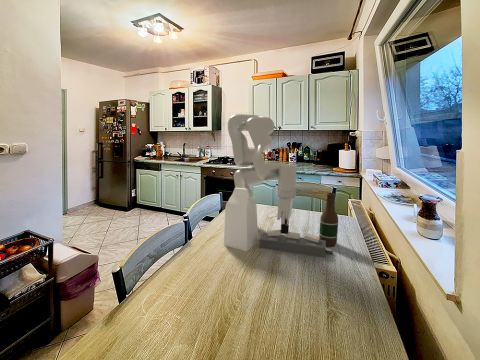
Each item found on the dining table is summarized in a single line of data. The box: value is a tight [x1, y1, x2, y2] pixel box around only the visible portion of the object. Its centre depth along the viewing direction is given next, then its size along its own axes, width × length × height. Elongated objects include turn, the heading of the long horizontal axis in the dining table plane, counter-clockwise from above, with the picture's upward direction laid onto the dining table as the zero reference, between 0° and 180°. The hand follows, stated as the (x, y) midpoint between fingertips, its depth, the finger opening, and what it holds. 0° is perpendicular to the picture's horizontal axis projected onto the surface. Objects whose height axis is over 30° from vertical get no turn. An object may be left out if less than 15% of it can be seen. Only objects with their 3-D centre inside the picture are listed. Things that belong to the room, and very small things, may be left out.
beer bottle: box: [318, 192, 339, 248], centre depth 114 cm, size 8×8×24 cm
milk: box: [223, 187, 259, 252], centre depth 115 cm, size 12×12×26 cm
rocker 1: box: [266, 229, 283, 236], centre depth 114 cm, size 6×3×2 cm, turn 70°
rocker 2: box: [303, 232, 319, 243], centre depth 109 cm, size 6×3×2 cm, turn 72°
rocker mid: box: [284, 231, 301, 239], centre depth 112 cm, size 6×3×2 cm, turn 71°
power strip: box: [258, 232, 334, 258], centre depth 110 cm, size 31×8×4 cm, turn 71°
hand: (284, 233), depth 113 cm, fingers closed
